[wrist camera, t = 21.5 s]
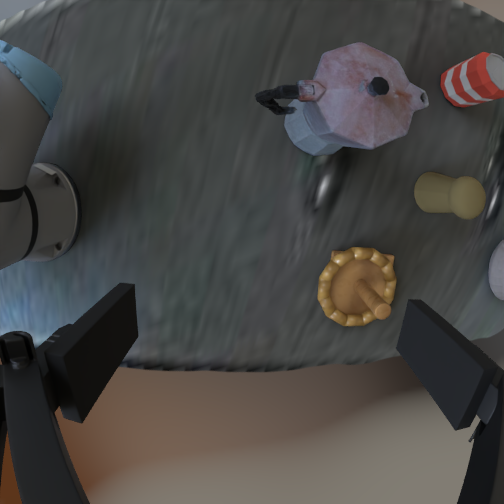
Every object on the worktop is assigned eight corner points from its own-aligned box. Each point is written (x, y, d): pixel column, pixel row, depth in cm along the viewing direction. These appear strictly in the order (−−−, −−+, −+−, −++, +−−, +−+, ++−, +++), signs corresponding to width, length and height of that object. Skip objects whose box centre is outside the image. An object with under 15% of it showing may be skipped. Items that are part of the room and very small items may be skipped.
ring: (313, 323, 44) (315, 328, 42) (320, 244, 41) (322, 247, 40) (386, 321, 44) (390, 326, 42) (397, 247, 41) (402, 250, 40)
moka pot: (375, 155, 40) (458, 144, 20) (262, 167, 41) (267, 158, 21) (363, 88, 38) (434, 34, 18) (251, 97, 38) (245, 34, 19)
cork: (452, 183, 40) (497, 187, 29) (438, 219, 41) (482, 233, 31) (422, 164, 40) (465, 163, 29) (408, 202, 41) (449, 211, 30)
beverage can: (431, 82, 37) (476, 61, 25) (452, 64, 36) (497, 43, 24) (454, 114, 38) (503, 103, 26) (474, 95, 37) (522, 82, 25)
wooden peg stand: (323, 311, 45) (339, 346, 35) (331, 250, 43) (352, 271, 33) (381, 312, 45) (407, 345, 35) (391, 254, 43) (424, 275, 33)
